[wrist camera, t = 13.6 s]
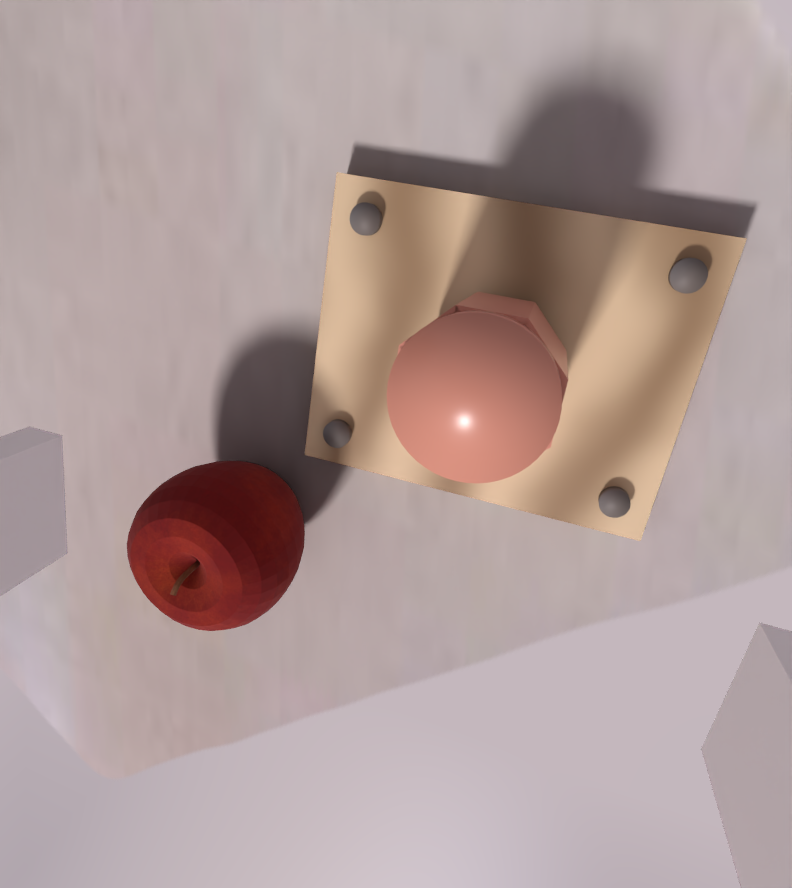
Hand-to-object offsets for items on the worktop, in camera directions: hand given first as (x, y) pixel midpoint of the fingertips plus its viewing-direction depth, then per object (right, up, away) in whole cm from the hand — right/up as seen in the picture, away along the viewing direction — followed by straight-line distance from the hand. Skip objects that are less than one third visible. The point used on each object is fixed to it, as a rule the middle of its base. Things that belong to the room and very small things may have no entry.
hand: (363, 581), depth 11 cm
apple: (-8, -1, +29) cm, 30 cm away
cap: (+6, +7, +20) cm, 22 cm away
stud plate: (+6, +7, +22) cm, 24 cm away
